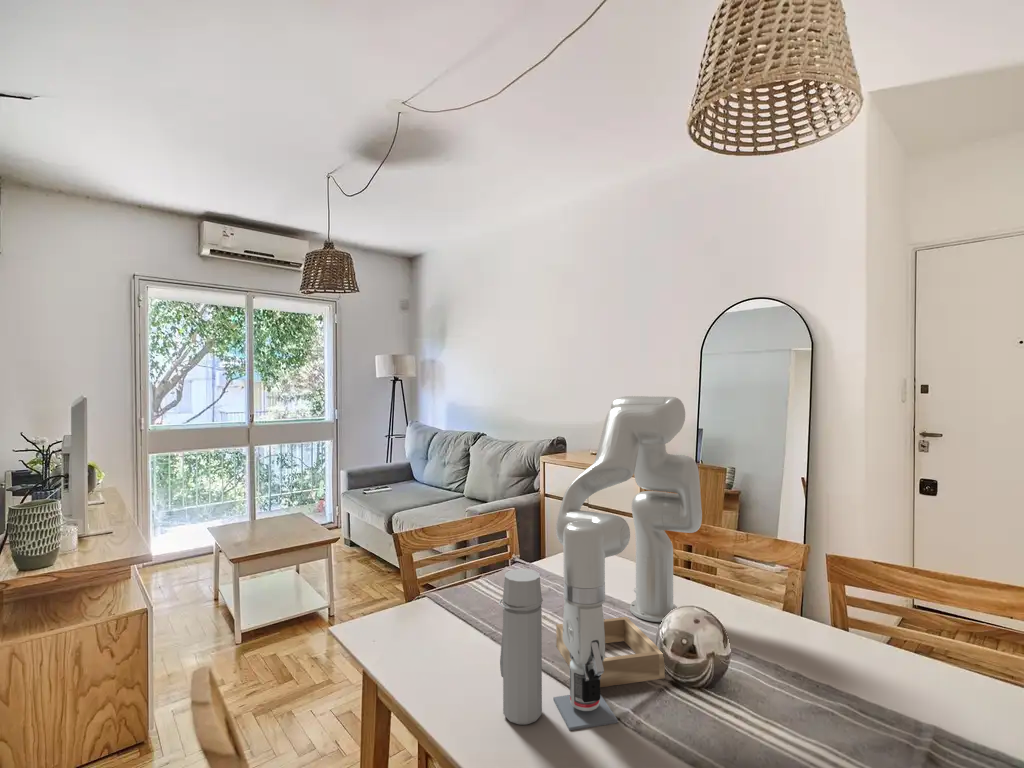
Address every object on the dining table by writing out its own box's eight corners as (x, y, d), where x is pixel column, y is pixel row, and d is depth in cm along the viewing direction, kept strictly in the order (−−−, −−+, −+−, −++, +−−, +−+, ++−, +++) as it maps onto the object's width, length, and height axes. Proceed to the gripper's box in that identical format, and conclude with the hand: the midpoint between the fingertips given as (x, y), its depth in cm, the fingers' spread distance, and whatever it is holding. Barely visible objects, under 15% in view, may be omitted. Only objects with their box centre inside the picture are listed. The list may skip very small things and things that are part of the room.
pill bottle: (605, 705, 93) (605, 651, 93) (583, 716, 90) (583, 660, 90) (585, 691, 98) (585, 639, 98) (563, 700, 95) (563, 647, 95)
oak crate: (556, 646, 117) (556, 624, 117) (626, 638, 121) (626, 616, 121) (583, 689, 100) (583, 663, 100) (664, 678, 104) (664, 653, 104)
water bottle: (552, 713, 93) (551, 574, 93) (521, 734, 87) (521, 586, 88) (516, 692, 99) (515, 562, 100) (485, 710, 94) (485, 572, 94)
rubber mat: (553, 699, 97) (553, 697, 97) (598, 693, 99) (598, 690, 99) (569, 730, 88) (569, 727, 88) (617, 722, 90) (617, 719, 90)
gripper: (550, 576, 102) (551, 668, 101) (581, 613, 85) (582, 723, 85) (586, 572, 103) (586, 663, 103) (623, 608, 87) (624, 716, 86)
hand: (584, 689), depth 94 cm, fingers closed on pill bottle, 5 cm apart
